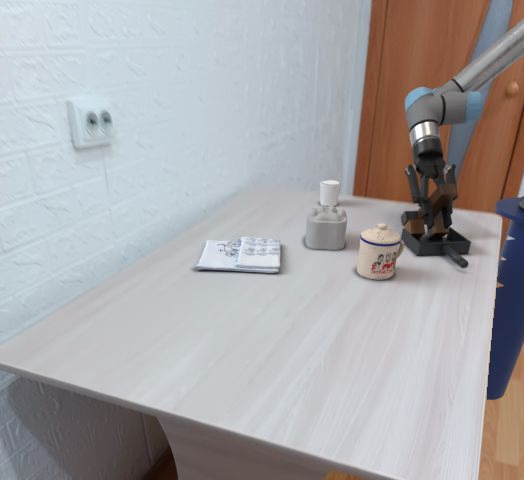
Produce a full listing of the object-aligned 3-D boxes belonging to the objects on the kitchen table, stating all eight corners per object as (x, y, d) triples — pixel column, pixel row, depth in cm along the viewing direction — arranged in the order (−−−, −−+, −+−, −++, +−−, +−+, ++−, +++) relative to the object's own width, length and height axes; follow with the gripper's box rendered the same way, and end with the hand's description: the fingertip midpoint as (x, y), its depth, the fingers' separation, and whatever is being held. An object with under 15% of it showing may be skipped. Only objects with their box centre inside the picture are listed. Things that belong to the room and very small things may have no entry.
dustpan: (400, 240, 132) (402, 228, 130) (447, 238, 133) (450, 226, 132) (436, 274, 113) (440, 261, 111) (490, 271, 115) (494, 258, 113)
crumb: (439, 224, 134) (447, 218, 130) (441, 238, 133) (449, 232, 129) (426, 224, 133) (433, 218, 129) (428, 238, 133) (435, 232, 129)
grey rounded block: (305, 248, 125) (308, 216, 120) (304, 231, 136) (307, 200, 131) (345, 250, 124) (349, 217, 120) (341, 233, 135) (345, 202, 130)
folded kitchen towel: (279, 274, 111) (280, 266, 110) (193, 271, 112) (192, 262, 110) (281, 244, 127) (281, 236, 126) (205, 241, 128) (205, 233, 126)
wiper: (437, 215, 135) (468, 183, 119) (439, 224, 134) (470, 193, 118) (400, 216, 133) (426, 184, 118) (402, 225, 132) (428, 194, 117)
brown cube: (417, 225, 133) (423, 219, 129) (419, 238, 132) (425, 233, 129) (403, 225, 133) (409, 219, 129) (405, 239, 132) (411, 233, 128)
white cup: (325, 207, 155) (327, 185, 151) (314, 202, 160) (315, 180, 156) (343, 205, 157) (345, 183, 153) (331, 199, 162) (333, 178, 158)
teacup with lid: (371, 283, 108) (379, 233, 102) (347, 268, 115) (353, 220, 108) (412, 274, 113) (422, 225, 106) (386, 260, 119) (394, 214, 113)
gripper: (449, 153, 132) (463, 232, 128) (390, 153, 130) (402, 234, 126) (463, 136, 125) (478, 219, 121) (401, 136, 123) (414, 220, 118)
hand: (439, 226), depth 123 cm, fingers closed on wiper, 4 cm apart
